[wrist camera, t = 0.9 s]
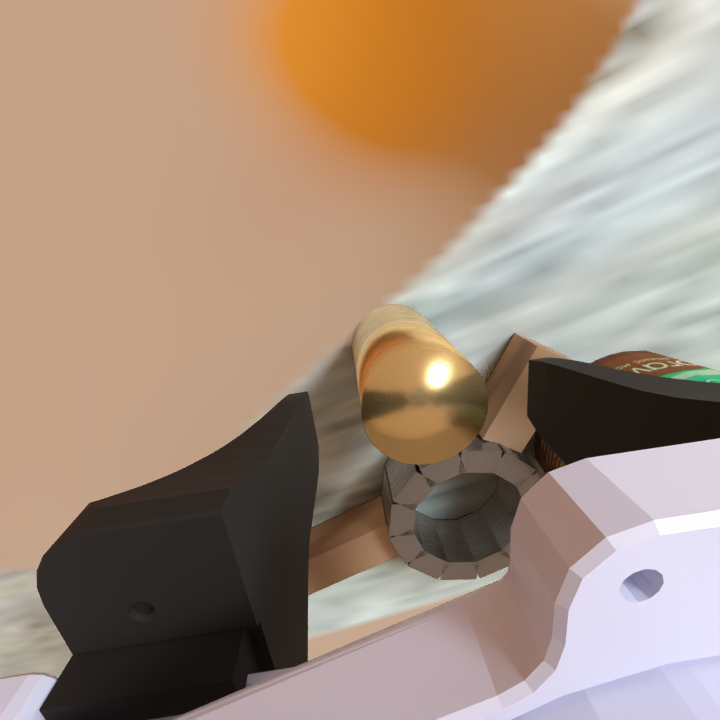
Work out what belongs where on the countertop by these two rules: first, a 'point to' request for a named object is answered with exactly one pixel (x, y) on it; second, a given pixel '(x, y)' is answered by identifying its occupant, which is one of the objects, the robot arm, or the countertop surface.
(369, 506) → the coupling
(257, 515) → the robot arm
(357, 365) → the peg
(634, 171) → the countertop surface
